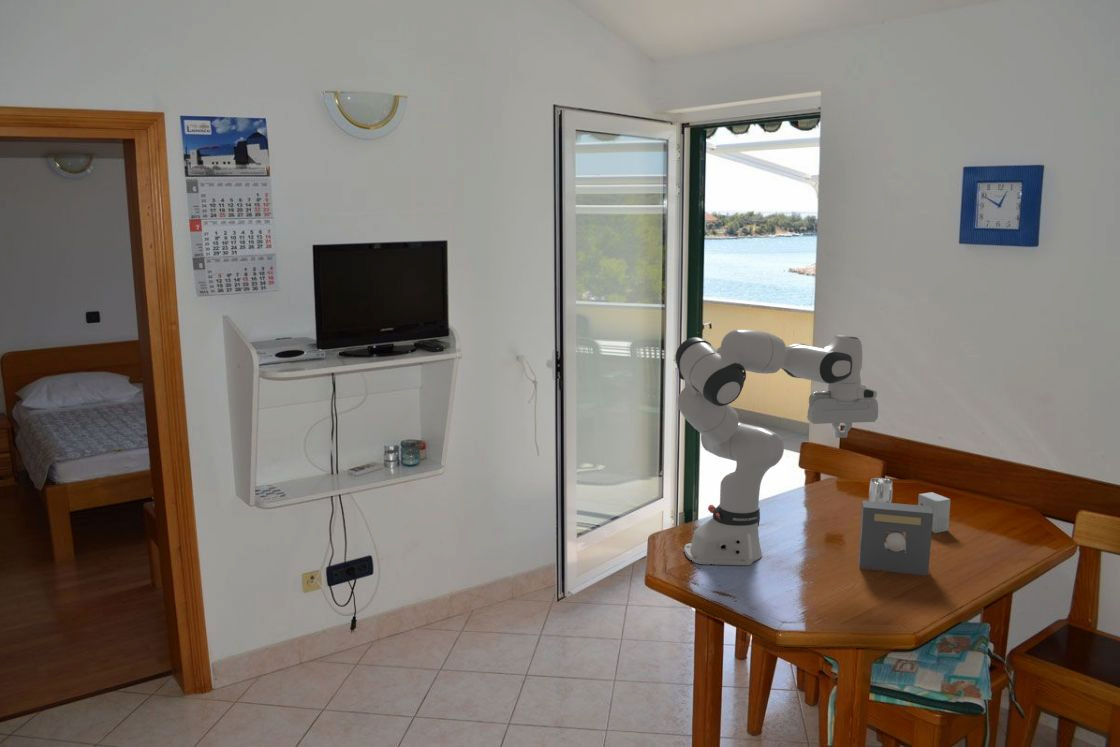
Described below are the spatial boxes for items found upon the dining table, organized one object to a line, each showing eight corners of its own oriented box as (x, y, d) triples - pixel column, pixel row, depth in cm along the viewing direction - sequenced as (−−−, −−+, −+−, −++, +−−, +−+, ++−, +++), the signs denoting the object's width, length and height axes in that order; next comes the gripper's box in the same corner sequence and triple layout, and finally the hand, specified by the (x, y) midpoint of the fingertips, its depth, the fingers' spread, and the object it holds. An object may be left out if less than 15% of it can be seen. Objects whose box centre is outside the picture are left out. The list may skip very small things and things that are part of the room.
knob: (905, 552, 245) (906, 535, 244) (885, 550, 246) (887, 533, 246) (901, 538, 255) (903, 521, 255) (883, 536, 257) (884, 520, 256)
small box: (948, 531, 279) (951, 499, 277) (934, 533, 277) (937, 501, 275) (929, 522, 287) (932, 491, 285) (915, 525, 285) (918, 493, 283)
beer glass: (891, 530, 280) (894, 484, 277) (868, 529, 281) (871, 483, 278) (888, 523, 286) (891, 478, 284) (865, 521, 288) (868, 476, 285)
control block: (928, 576, 245) (933, 514, 242) (859, 568, 250) (863, 507, 247) (925, 567, 251) (930, 506, 248) (858, 560, 256) (862, 500, 253)
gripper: (814, 393, 252) (811, 441, 254) (882, 392, 255) (879, 438, 257) (805, 389, 258) (802, 435, 261) (871, 387, 261) (868, 433, 263)
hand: (841, 437), depth 259 cm, fingers closed
